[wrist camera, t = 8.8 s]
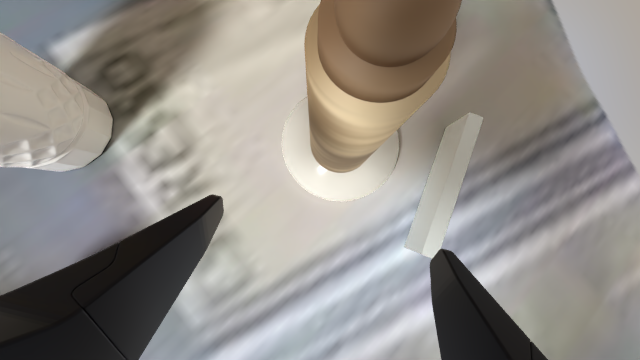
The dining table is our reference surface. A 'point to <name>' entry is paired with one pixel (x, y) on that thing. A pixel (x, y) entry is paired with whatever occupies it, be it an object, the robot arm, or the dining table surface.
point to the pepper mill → (372, 71)
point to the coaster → (327, 181)
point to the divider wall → (443, 186)
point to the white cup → (47, 114)
